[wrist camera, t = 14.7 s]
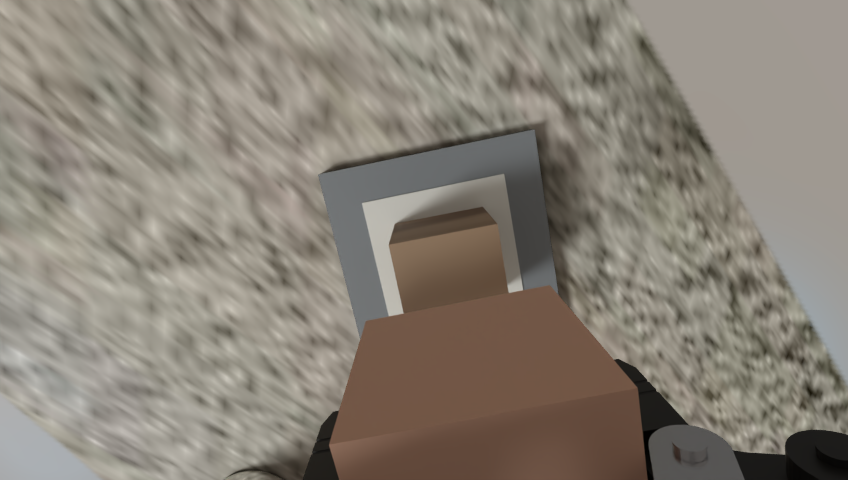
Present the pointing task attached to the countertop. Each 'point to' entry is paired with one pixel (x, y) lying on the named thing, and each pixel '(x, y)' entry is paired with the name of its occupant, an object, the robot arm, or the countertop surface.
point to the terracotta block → (487, 397)
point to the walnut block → (447, 259)
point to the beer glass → (253, 476)
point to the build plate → (438, 213)
